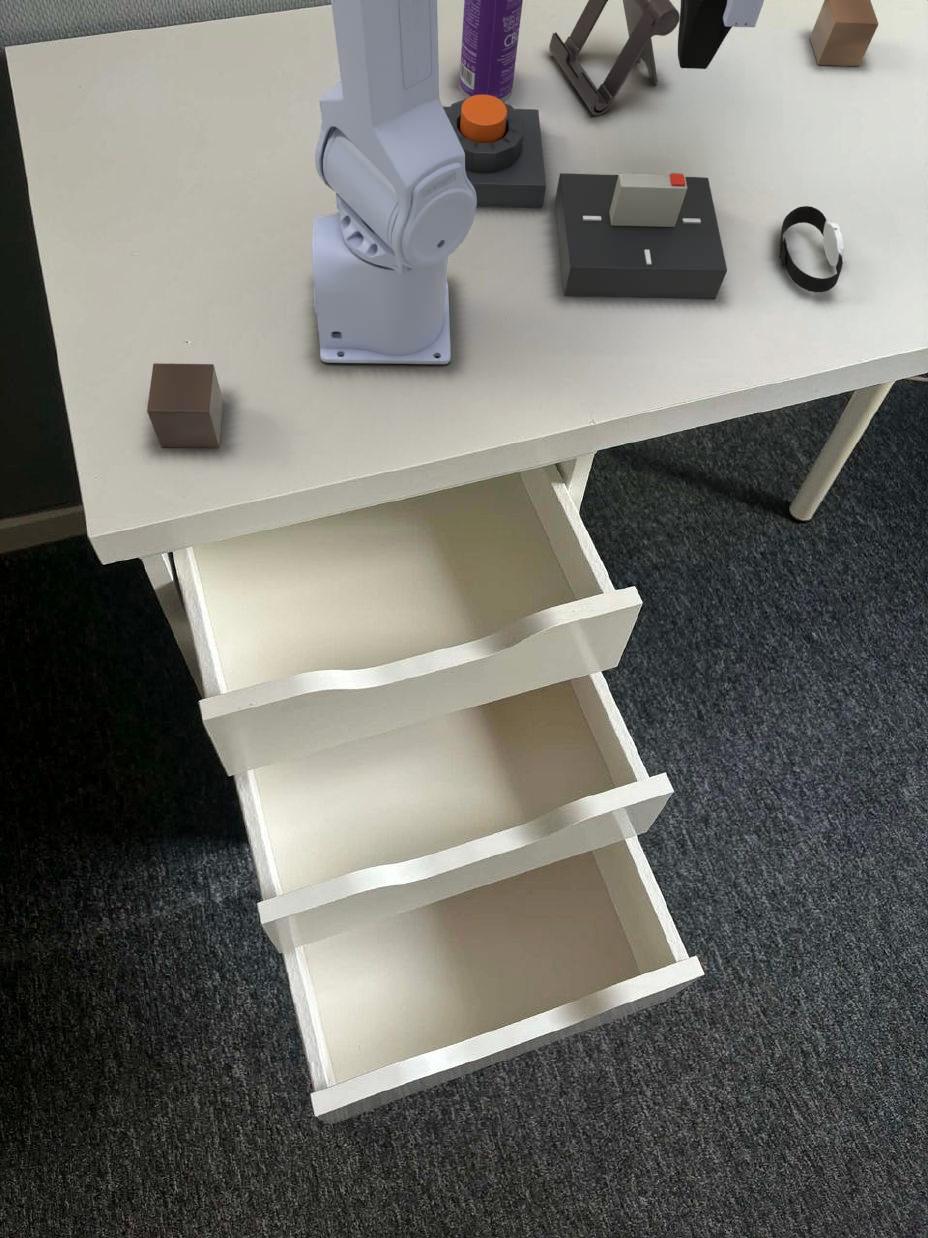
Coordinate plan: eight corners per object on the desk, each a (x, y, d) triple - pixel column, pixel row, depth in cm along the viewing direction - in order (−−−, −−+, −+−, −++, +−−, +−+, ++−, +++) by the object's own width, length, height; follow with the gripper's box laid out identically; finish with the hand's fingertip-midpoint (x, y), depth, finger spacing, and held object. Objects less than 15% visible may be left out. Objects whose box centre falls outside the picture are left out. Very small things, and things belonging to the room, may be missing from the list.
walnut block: (160, 447, 65) (146, 411, 62) (166, 400, 67) (152, 362, 63) (219, 448, 65) (209, 411, 62) (223, 401, 67) (213, 363, 64)
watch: (846, 296, 75) (866, 261, 72) (790, 300, 75) (808, 265, 71) (817, 226, 78) (835, 189, 75) (763, 229, 78) (779, 192, 75)
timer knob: (610, 225, 73) (621, 183, 69) (609, 212, 73) (619, 170, 70) (674, 227, 73) (688, 185, 70) (672, 213, 74) (685, 171, 70)
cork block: (817, 64, 87) (835, 21, 84) (809, 37, 89) (826, -7, 86) (859, 66, 88) (879, 23, 84) (850, 38, 89) (869, -5, 86)
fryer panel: (563, 296, 73) (570, 265, 70) (554, 203, 78) (560, 170, 75) (715, 299, 74) (728, 268, 71) (697, 207, 78) (708, 175, 76)
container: (507, 110, 82) (528, -79, 69) (454, 100, 82) (465, -91, 69) (516, 76, 84) (539, -114, 71) (464, 66, 84) (477, -126, 71)
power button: (460, 143, 75) (462, 123, 73) (459, 113, 76) (460, 92, 75) (506, 145, 75) (508, 125, 73) (503, 114, 77) (505, 94, 75)
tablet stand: (546, 55, 86) (561, -43, 78) (623, 38, 87) (645, -59, 80) (589, 118, 82) (608, 22, 75) (668, 99, 84) (694, 4, 76)
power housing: (419, 204, 77) (420, 162, 73) (418, 128, 80) (419, 84, 77) (542, 207, 77) (549, 165, 74) (535, 132, 81) (541, 88, 78)
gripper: (842, -78, 55) (761, 130, 67) (796, -211, 61) (729, 2, 73) (723, -84, 55) (664, 127, 67) (689, -217, 61) (640, -1, 73)
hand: (692, 62), depth 70 cm, fingers closed
